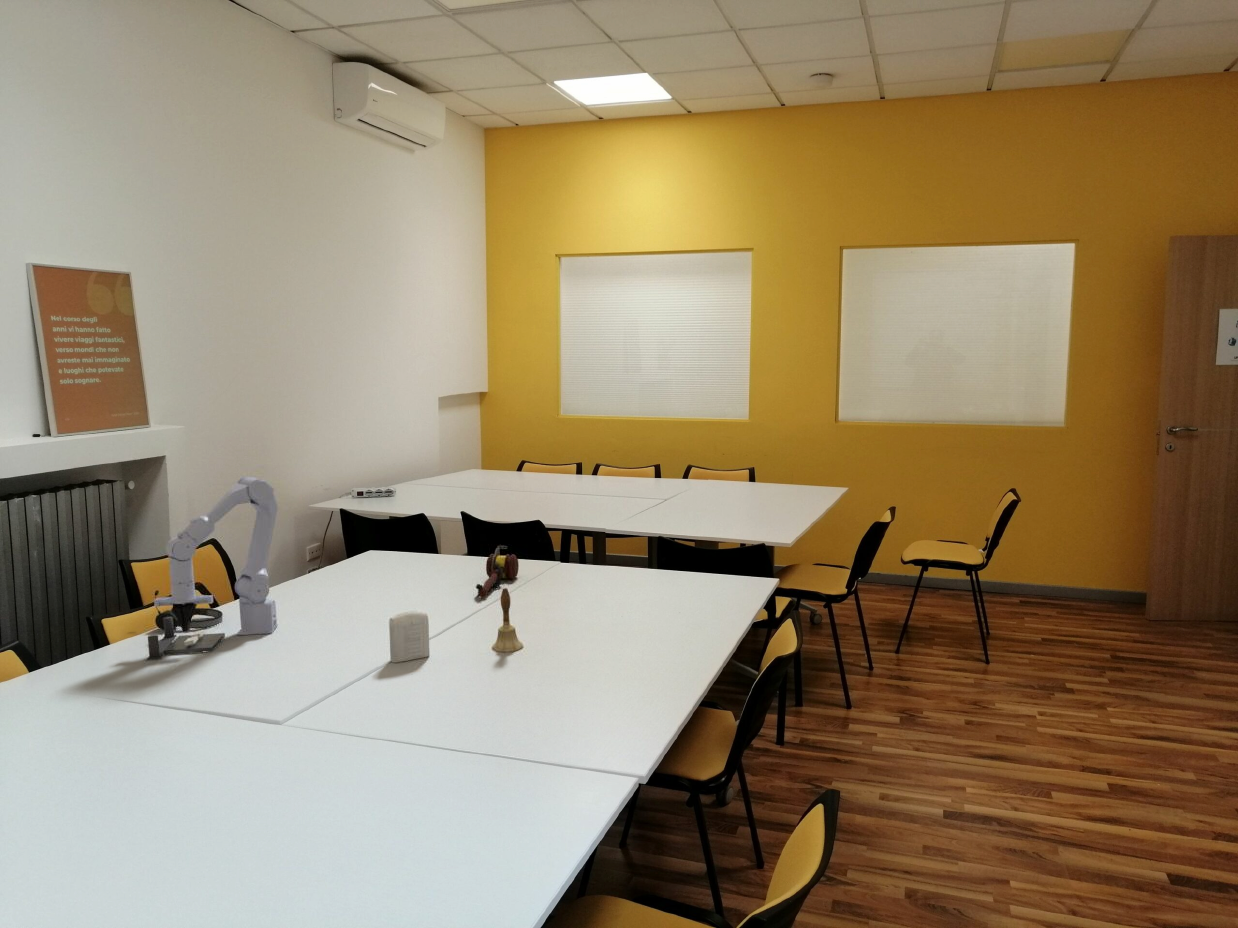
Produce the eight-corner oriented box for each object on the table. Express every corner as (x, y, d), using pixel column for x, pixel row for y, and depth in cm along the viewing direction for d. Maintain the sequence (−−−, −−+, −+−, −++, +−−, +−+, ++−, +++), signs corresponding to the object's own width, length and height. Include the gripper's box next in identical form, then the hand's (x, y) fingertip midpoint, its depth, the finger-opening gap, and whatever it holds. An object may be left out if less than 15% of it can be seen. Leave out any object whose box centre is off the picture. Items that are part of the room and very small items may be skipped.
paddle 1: (198, 639, 250) (197, 635, 250) (194, 643, 247) (193, 639, 246) (189, 641, 250) (188, 638, 250) (185, 645, 246) (184, 642, 246)
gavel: (497, 607, 294) (466, 606, 295) (521, 573, 327) (493, 572, 329) (495, 577, 292) (465, 576, 293) (520, 545, 325) (492, 545, 327)
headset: (164, 585, 278) (231, 591, 278) (163, 616, 279) (229, 622, 279) (141, 597, 265) (211, 603, 265) (140, 629, 266) (210, 635, 266)
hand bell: (485, 649, 243) (483, 590, 241) (503, 640, 251) (501, 583, 249) (511, 654, 239) (509, 594, 238) (529, 644, 247) (527, 586, 245)
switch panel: (224, 637, 259) (224, 632, 258) (211, 651, 246) (211, 647, 246) (179, 639, 257) (179, 635, 257) (164, 654, 244) (163, 650, 244)
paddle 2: (204, 632, 256) (203, 629, 256) (200, 636, 252) (199, 633, 252) (195, 635, 256) (194, 631, 256) (191, 639, 252) (190, 635, 252)
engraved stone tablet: (426, 652, 242) (424, 606, 241) (432, 656, 238) (430, 610, 237) (388, 660, 236) (385, 613, 235) (393, 664, 233) (391, 617, 231)
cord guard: (176, 636, 261) (175, 616, 260) (159, 659, 240) (157, 637, 240) (164, 637, 260) (163, 616, 259) (147, 661, 240) (145, 638, 239)
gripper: (148, 586, 244) (152, 636, 246) (206, 583, 246) (210, 633, 248) (157, 580, 251) (161, 628, 252) (213, 577, 253) (217, 625, 255)
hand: (186, 630), depth 251 cm, fingers closed
